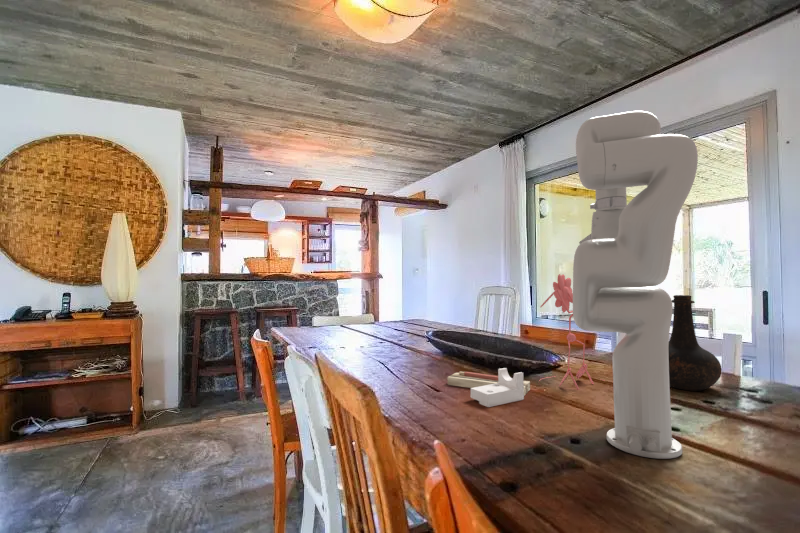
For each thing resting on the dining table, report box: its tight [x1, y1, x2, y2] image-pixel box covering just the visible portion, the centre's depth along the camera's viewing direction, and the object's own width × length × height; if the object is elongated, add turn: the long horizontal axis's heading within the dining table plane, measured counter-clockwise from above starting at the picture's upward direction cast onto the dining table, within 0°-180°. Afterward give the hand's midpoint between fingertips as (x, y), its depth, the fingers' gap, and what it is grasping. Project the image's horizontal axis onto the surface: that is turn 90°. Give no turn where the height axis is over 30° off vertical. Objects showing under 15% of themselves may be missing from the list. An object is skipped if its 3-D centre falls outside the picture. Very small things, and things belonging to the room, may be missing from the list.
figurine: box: [537, 273, 606, 390], centre depth 123 cm, size 15×26×35 cm, turn 127°
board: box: [447, 372, 531, 396], centre depth 118 cm, size 7×24×2 cm, turn 59°
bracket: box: [470, 367, 525, 408], centre depth 106 cm, size 13×7×8 cm, turn 119°
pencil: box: [458, 371, 498, 381], centre depth 121 cm, size 14×1×1 cm, turn 54°
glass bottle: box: [668, 294, 723, 392], centre depth 117 cm, size 18×18×28 cm
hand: (613, 268), depth 105 cm, fingers open, 7 cm apart
